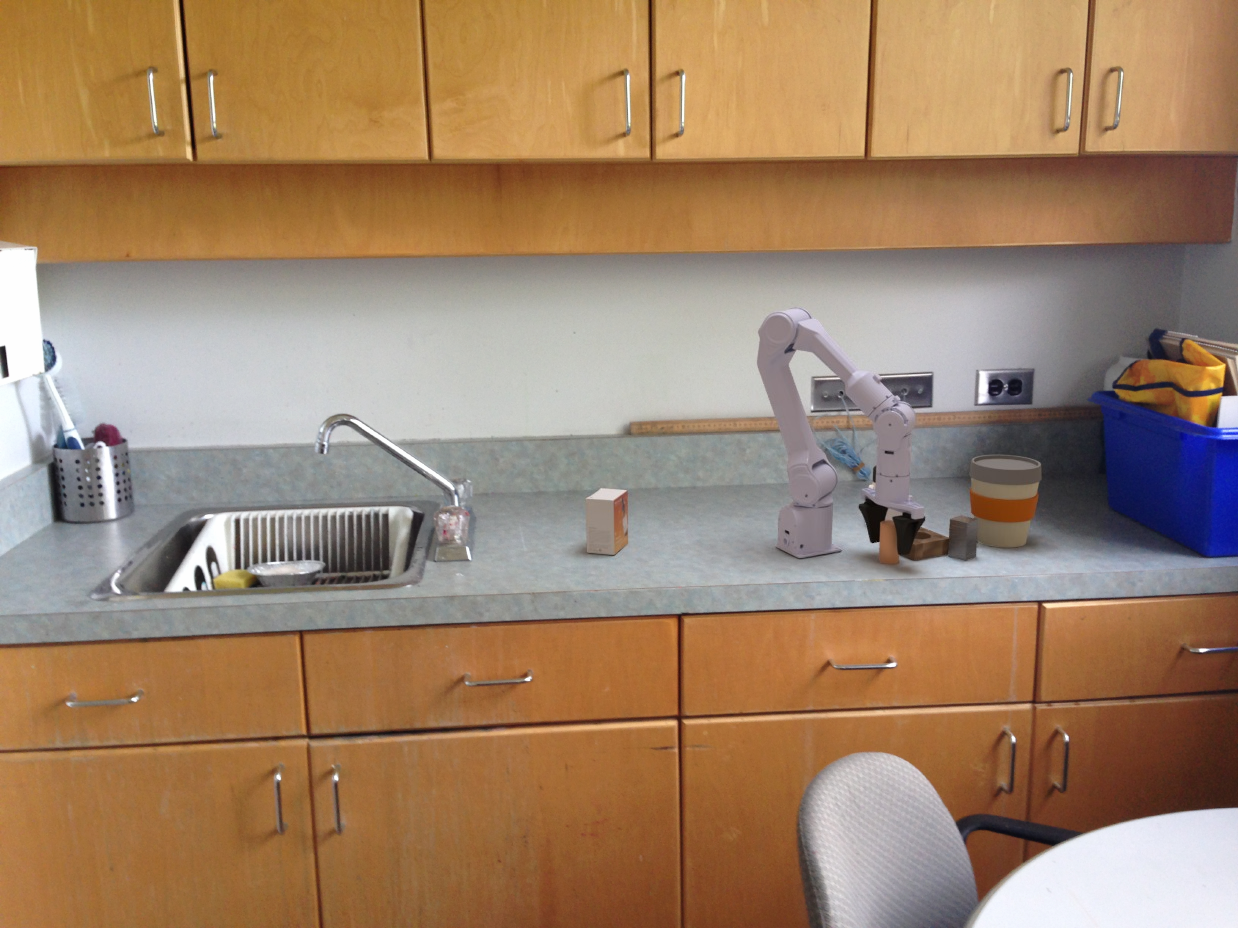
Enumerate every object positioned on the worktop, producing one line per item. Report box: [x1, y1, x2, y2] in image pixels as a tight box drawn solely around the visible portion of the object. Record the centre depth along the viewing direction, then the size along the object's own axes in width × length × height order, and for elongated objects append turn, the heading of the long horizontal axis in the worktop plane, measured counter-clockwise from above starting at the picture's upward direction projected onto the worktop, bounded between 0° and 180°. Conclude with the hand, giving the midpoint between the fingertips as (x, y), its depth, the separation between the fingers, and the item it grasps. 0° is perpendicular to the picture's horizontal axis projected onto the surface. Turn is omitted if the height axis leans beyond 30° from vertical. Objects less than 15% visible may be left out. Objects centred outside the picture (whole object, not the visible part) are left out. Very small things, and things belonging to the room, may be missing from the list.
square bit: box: [947, 514, 979, 562], centre depth 184 cm, size 4×4×7 cm
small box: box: [585, 487, 629, 556], centre depth 192 cm, size 8×6×10 cm
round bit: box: [878, 520, 900, 565], centre depth 182 cm, size 4×4×7 cm
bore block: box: [901, 526, 949, 562], centre depth 188 cm, size 8×8×3 cm
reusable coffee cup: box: [968, 454, 1043, 548], centre depth 192 cm, size 13×13×15 cm
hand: (889, 548), depth 182 cm, fingers open, 7 cm apart
